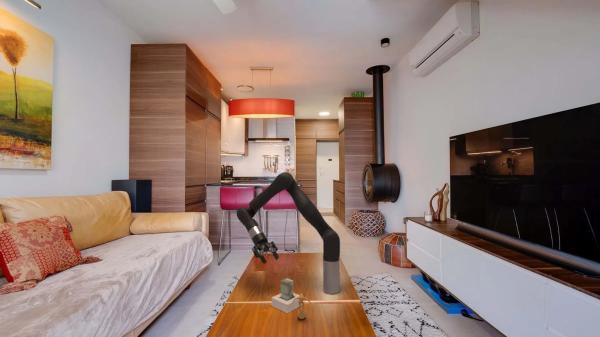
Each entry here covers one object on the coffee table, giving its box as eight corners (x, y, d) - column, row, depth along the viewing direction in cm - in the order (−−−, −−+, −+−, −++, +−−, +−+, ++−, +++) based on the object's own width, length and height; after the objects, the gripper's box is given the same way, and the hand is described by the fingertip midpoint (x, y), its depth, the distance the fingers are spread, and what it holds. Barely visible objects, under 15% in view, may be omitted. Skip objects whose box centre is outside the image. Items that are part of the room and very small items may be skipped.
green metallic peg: (287, 302, 131) (286, 278, 131) (293, 305, 128) (293, 280, 129) (280, 305, 128) (280, 280, 128) (287, 308, 125) (287, 283, 125)
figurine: (310, 316, 118) (310, 289, 118) (310, 323, 112) (310, 295, 112) (292, 316, 118) (292, 289, 118) (291, 323, 112) (291, 295, 112)
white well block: (287, 298, 136) (287, 290, 136) (302, 304, 128) (302, 296, 128) (271, 305, 127) (271, 297, 128) (287, 313, 120) (287, 304, 120)
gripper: (250, 234, 137) (264, 260, 129) (270, 229, 148) (284, 253, 140) (244, 242, 141) (257, 268, 133) (264, 237, 151) (278, 261, 143)
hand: (271, 260), depth 136 cm, fingers open, 8 cm apart
